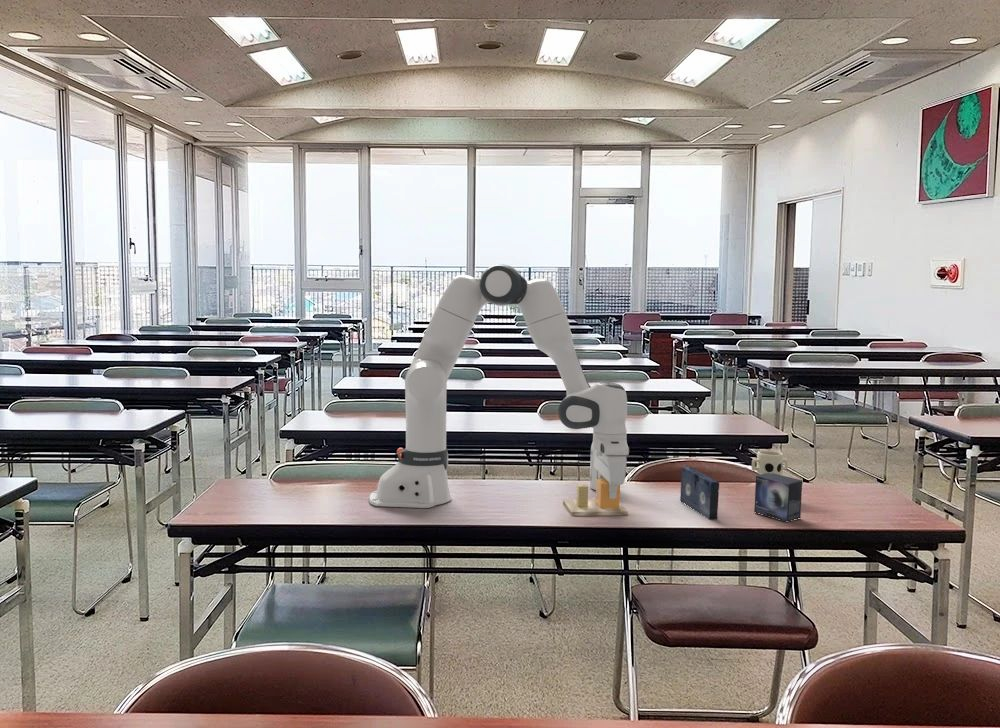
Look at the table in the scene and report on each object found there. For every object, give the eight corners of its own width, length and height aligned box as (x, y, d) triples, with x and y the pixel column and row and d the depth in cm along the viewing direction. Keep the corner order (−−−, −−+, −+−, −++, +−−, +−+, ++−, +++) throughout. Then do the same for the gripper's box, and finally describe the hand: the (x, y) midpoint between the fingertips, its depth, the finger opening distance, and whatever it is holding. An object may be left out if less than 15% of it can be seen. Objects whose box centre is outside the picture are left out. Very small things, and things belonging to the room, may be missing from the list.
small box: (752, 513, 227) (754, 474, 226) (767, 509, 231) (769, 471, 230) (786, 523, 218) (788, 483, 217) (801, 519, 222) (803, 479, 221)
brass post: (578, 507, 226) (578, 486, 226) (576, 504, 229) (576, 484, 228) (587, 506, 226) (588, 486, 226) (585, 504, 229) (586, 484, 228)
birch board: (571, 515, 221) (571, 511, 221) (563, 503, 233) (563, 499, 233) (627, 514, 223) (627, 511, 223) (616, 502, 235) (616, 499, 235)
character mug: (755, 501, 240) (758, 455, 238) (744, 494, 247) (746, 450, 245) (791, 500, 241) (794, 455, 240) (780, 493, 248) (782, 449, 247)
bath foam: (618, 489, 250) (620, 422, 248) (601, 492, 246) (604, 424, 244) (601, 484, 255) (603, 418, 253) (584, 487, 251) (586, 421, 249)
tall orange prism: (600, 508, 226) (600, 483, 225) (595, 502, 231) (596, 479, 230) (619, 507, 226) (620, 483, 225) (614, 502, 231) (615, 478, 231)
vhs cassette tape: (718, 519, 221) (719, 482, 220) (707, 520, 220) (709, 482, 219) (689, 501, 238) (691, 466, 238) (679, 501, 238) (681, 466, 237)
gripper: (589, 435, 237) (588, 484, 238) (606, 450, 216) (605, 503, 218) (611, 435, 237) (610, 483, 239) (630, 450, 217) (629, 503, 218)
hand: (607, 493), depth 228 cm, fingers open, 8 cm apart
